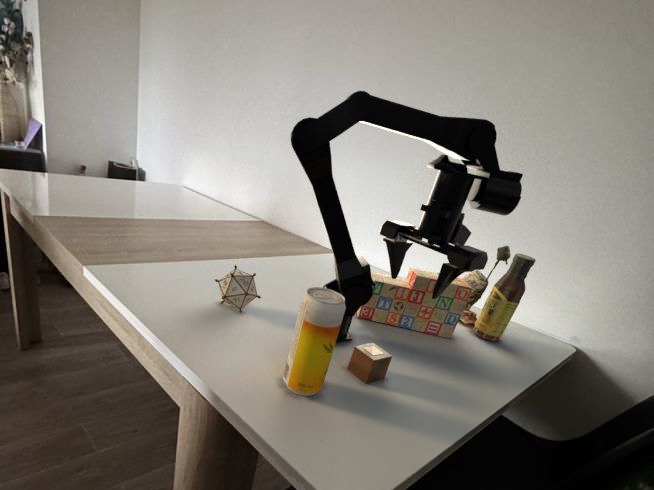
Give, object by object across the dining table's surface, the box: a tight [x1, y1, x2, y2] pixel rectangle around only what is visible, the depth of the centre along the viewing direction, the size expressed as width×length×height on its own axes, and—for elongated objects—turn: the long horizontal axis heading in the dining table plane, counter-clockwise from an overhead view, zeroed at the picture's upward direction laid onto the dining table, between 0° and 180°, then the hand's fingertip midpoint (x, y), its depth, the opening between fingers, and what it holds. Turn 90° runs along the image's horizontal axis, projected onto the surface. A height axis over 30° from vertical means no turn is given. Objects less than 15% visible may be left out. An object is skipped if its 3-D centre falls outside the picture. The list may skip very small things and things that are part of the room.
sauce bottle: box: [472, 252, 536, 342], centre depth 88 cm, size 6×6×20 cm
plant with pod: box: [459, 245, 512, 325], centre depth 96 cm, size 8×11×20 cm
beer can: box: [282, 286, 346, 397], centre depth 56 cm, size 6×6×15 cm
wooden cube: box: [347, 342, 393, 385], centre depth 65 cm, size 4×4×5 cm
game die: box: [214, 264, 262, 314], centre depth 78 cm, size 9×8×10 cm
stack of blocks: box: [356, 266, 473, 339], centre depth 87 cm, size 21×6×12 cm, turn 85°
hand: (413, 288), depth 72 cm, fingers open, 9 cm apart
